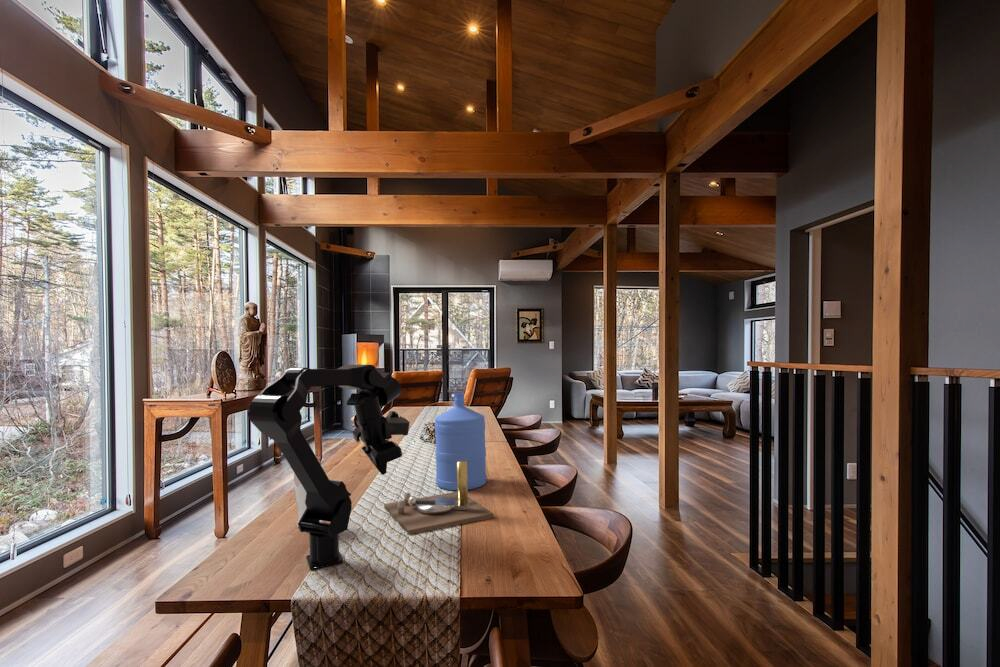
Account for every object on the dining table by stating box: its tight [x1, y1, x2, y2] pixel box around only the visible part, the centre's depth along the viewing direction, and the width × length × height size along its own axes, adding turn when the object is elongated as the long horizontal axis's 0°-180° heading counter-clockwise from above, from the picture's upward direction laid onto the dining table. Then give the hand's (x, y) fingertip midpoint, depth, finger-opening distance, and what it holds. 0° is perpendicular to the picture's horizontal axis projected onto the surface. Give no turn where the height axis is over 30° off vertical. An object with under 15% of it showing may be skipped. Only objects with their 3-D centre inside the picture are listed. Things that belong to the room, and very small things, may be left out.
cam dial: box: [408, 461, 469, 514], centre depth 135 cm, size 16×10×12 cm, turn 81°
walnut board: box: [383, 491, 494, 535], centre depth 135 cm, size 22×22×4 cm
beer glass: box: [293, 460, 324, 528], centre depth 129 cm, size 7×7×15 cm
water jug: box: [434, 392, 488, 491], centre depth 161 cm, size 16×16×28 cm
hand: (383, 473), depth 126 cm, fingers closed
